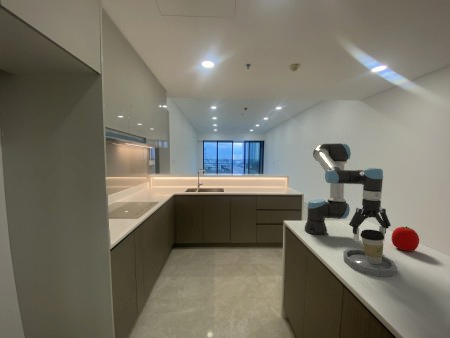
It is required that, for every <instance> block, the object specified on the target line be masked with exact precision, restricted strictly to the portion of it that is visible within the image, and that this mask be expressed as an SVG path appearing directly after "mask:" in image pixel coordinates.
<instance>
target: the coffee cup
mask: <svg viewBox="0 0 450 338" xmlns="http://www.w3.org/2000/svg"><path fill="white" fill-rule="evenodd" d="M359 237H361V239H362V240H361V242H362V246H363V250H364V251H365V254H366V259H367V261H368V262H369V263H372V264H381V263H382V256H383V255H384V241H383V239H384V236H383V234H382V233H381V232H380V231H379V230H376V229H363V230H362V231H361V232H360V233H359ZM384 240H385V239H384Z"/></svg>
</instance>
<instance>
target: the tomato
mask: <svg viewBox="0 0 450 338" xmlns="http://www.w3.org/2000/svg"><path fill="white" fill-rule="evenodd" d="M390 240H391V243H392V245H393V246H394V247H395V248H396V249H399V250H401V251H405V252H414V251H415V250H417V248H419V244H420V237H419V234H418V232H417V231H415V229H413V228H410V227H408V226H398V227H396V228H395V229H394V230H393V231H392V234H391V239H390Z"/></svg>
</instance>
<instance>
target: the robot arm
mask: <svg viewBox="0 0 450 338" xmlns="http://www.w3.org/2000/svg"><path fill="white" fill-rule="evenodd" d="M351 153H352V152H351V149H350V146H349V145H348V144H347V143H321V144H319V145H317V146H316V147H315V148H314V150H313V152H312V155H313V158H314V160H315V161H317V162H318V163H319V165H320V166H321V168H322V169H323V170H324V172H325V173H324V179H325V182H326V183H327V184H330V185H329V188H330V189H329V198H327V201H326V199H320V198H315V199H310V200H309V201H308V202H307V219H306V222H305V224H304V231H305V232H306V233H308V234H310V235H316V236H325V235H328V229H327V225H326V220H325V219H333V220H334V219H336V220H345V219H347V218H348V217H349V215H350V212H351V211H350V210H351V209H350V205H349V203H348V202H347V200H346V199H345V197H344V196H345V191H344V190H345V184H346V185H347V184H348V185H362V199H361V200H362V202H361V205H362V208H359V207H356V209H355V213H354V214H353V216H352V217H351V219H350V221H349V223H348V225H349V226H350V227H352V234H353V237H352V238H353V240H355V241H356V242H359V241H360V240H359V239H360V228H359V227H360V226H361V225H362V224H363V223H364V222H365V220H366V219H368V218H374V219H376V221H377V223H379V226H378V227H379V228H378V231H380V232H381V233H382V234H383V236H384V239H383V242H384V241H385V238H386V237H385V235H386V234H387V229H389V227H392V226H391V222H390V220H389V218H388V215H387V210H386V208H383V207H381V205H382V200H381V199H382V190H383V183H384V182H383V181H384V180H383V179H384V171H383V169H382V168H378V167H377V168H376V167H367V168H365V169H364V170H363V169H357V170H356V169H353V170H352V169H351V170H349V169H345V164H347V162H348V160H350V159H351V155H352V154H351Z"/></svg>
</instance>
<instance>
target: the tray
mask: <svg viewBox="0 0 450 338" xmlns="http://www.w3.org/2000/svg"><path fill="white" fill-rule="evenodd" d="M342 258H343V262H344V263H346V265H348V266H349V267H350V268H352V269H354V270H357V271H358V272H360V273H363V274H366V275H369V276H370V275H371V276H374V277H380V278H384V277H385V278H387V277H389V278H390V277H393V276H394V275H396V273H397V269H398V267H397V265H396V263H395V261H394V260H392V259H390V258H389V257H387V256H385V255H384V254H383V256H382V263H381V264H372V263H369V262H368V261H367V259H366V254H365V251H364V248H363V249H361V248H348V249H346V250H343V257H342Z"/></svg>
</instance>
